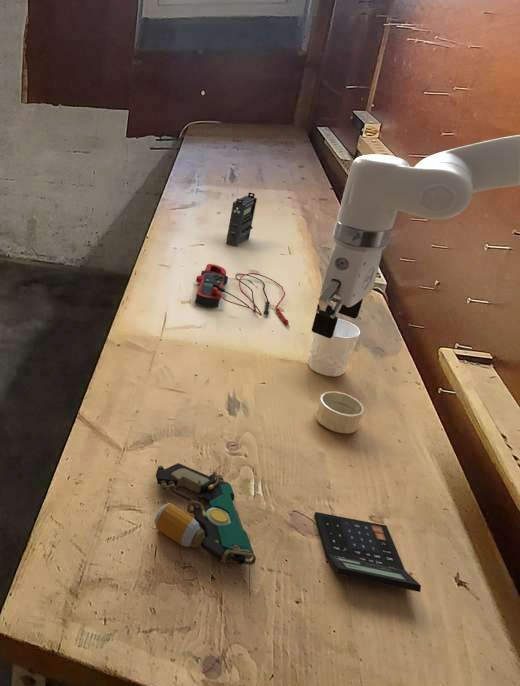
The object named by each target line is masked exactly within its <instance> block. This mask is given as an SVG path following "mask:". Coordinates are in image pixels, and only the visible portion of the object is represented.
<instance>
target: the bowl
mask: <svg viewBox="0 0 520 686" xmlns="http://www.w3.org/2000/svg"><path fill="white" fill-rule="evenodd" d="M314 414H315V419H316V421H318V423H319V424H320V425H321V426H323V427H324V428H325V429H328V430H329V431H331V432H334V433H339V434H352V433H355V432H357V431H358V429H359V427H360V425H361V422H362V419H363V416H364V414H365V407H364V405H363V403H361V401H360V400H358V398H356V397H354V396H353V395H350V394H348V393H345V392H341V391H326V392H323V393H321V395H320V397H319V398H318V403H317V406H316V410H315V413H314Z"/></svg>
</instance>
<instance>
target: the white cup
mask: <svg viewBox="0 0 520 686" xmlns="http://www.w3.org/2000/svg"><path fill="white" fill-rule="evenodd" d="M360 335H361V330H360V328H359V327H358V326H356V324H354V323H352V322H350V321H348V320H345V319H342V318H338V320H337V324H336V327H335V331H334V334H333V337H331V338H327V337H324V336H322V335H319V334H317V333H314V332H312V336H311V340H310V341H311V342H310V347H309V355H308V360H307V365H308V367H309V368H310V369H311V370H312V371H313V372H315V373H317V374H320V375H323V376H325V377H340V376H342V375H343V374H344V373H346V372H345V371H346V369H347V366H348V364H349V362H350V360H351V357H352V354H353V353H354V351H355V348H356V346H357V344H358V343H357V342H358V340H359V338H360Z"/></svg>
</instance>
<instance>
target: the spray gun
mask: <svg viewBox="0 0 520 686" xmlns="http://www.w3.org/2000/svg"><path fill="white" fill-rule="evenodd" d="M155 477H156V482H157V483H156V484H157V485H159V486H160V487H161V490H162V491H164V492H165V491H167V490H170V492H171V493H172V494H174V495H175V496H177V497H179V498H182V499H183V500H186V501H187V502H188V503H187V506H186V511H187V512H188V514H187V512H185V511H183V510H182V509H180V508H179V507H177V506H176V505H174V504H173V503H169V502H168V503H165V504H163V505H161V507H160V508H159V510H158V511H157V512H156V515H155V518H154V525H155V529H156V530H157V531H159V532H161V533H162V534H164V535H165V536H166V537H168V538H170V539H171V540H173V541H174V542H176V543H177V544H178V545H180V546H182V547H186V548H188V547H191V548H193V549H197V548H199V547H201V548H202V549H203V550H204V551H206V552H207V553H209V554H210V555H211V556H213V557H214V558H216V559H217V560H218V561H220V562H221V563H222V564H224V565H225V564H226V563H227V562H228V563H234V564H239V565H248V566H252V565H255V563H256V561H257V557H256V555H255V553H254V550H253V548H252V544H251V541H250V538H249V536H248V535H249V534H248V533H247V531H246V530H245V529H244V527H243V523H242V521H241V518H240V516H239V512H238V511H237V510H236V508H235V504H234V501H235V493H234V490H233V487H232V485H231V484H230V483H229V482H227V481H224V477H223V475H221V474H218V472H217V471H213V472H212V474H210V475H207V474H205V473H203V472H201V471H197V469H193V468H191V467H190V466H189V467H188V466H186V465H184V464H181V463H179V462H178V463H174V464H172V465H171V466H168V467H166V468H165V467H164V466H163V465H158V466H157V469H156V472H155ZM180 486H182V487H185V488H187V489H188V490H190V491H192V492H194V493H197V494H199V496H198V499H199V500H201V499H202V500H205V501H207V502H208V504H207V505H205V506H204V505H203V504H202V502H200V501H197V500H195V499H193V498H192V497H191V496H189V495H187V494H185V493H183V492H181V491H178V490H177V488H179V487H180ZM191 507H193V509H191ZM189 514H193V516H191V515H189ZM251 558H252V560H249V559H251ZM248 560H249V561H248Z"/></svg>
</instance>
